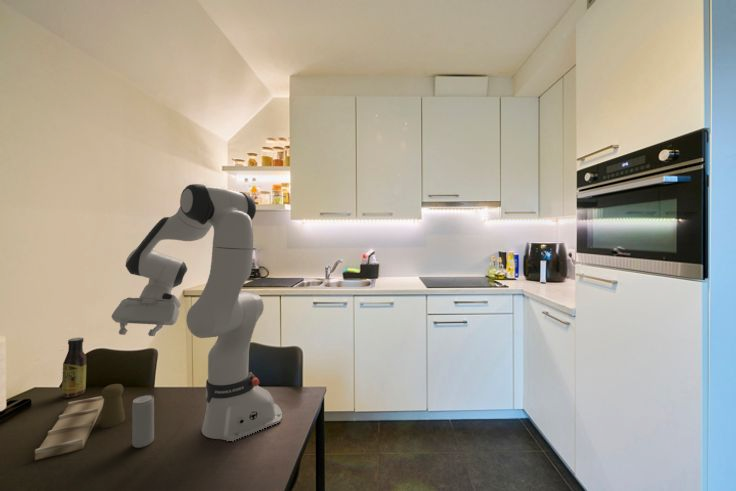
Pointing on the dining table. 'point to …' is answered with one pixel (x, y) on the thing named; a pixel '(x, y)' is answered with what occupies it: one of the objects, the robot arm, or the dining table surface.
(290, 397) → the dining table surface
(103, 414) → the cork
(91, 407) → the ledge board
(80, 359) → the sauce bottle
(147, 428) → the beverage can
